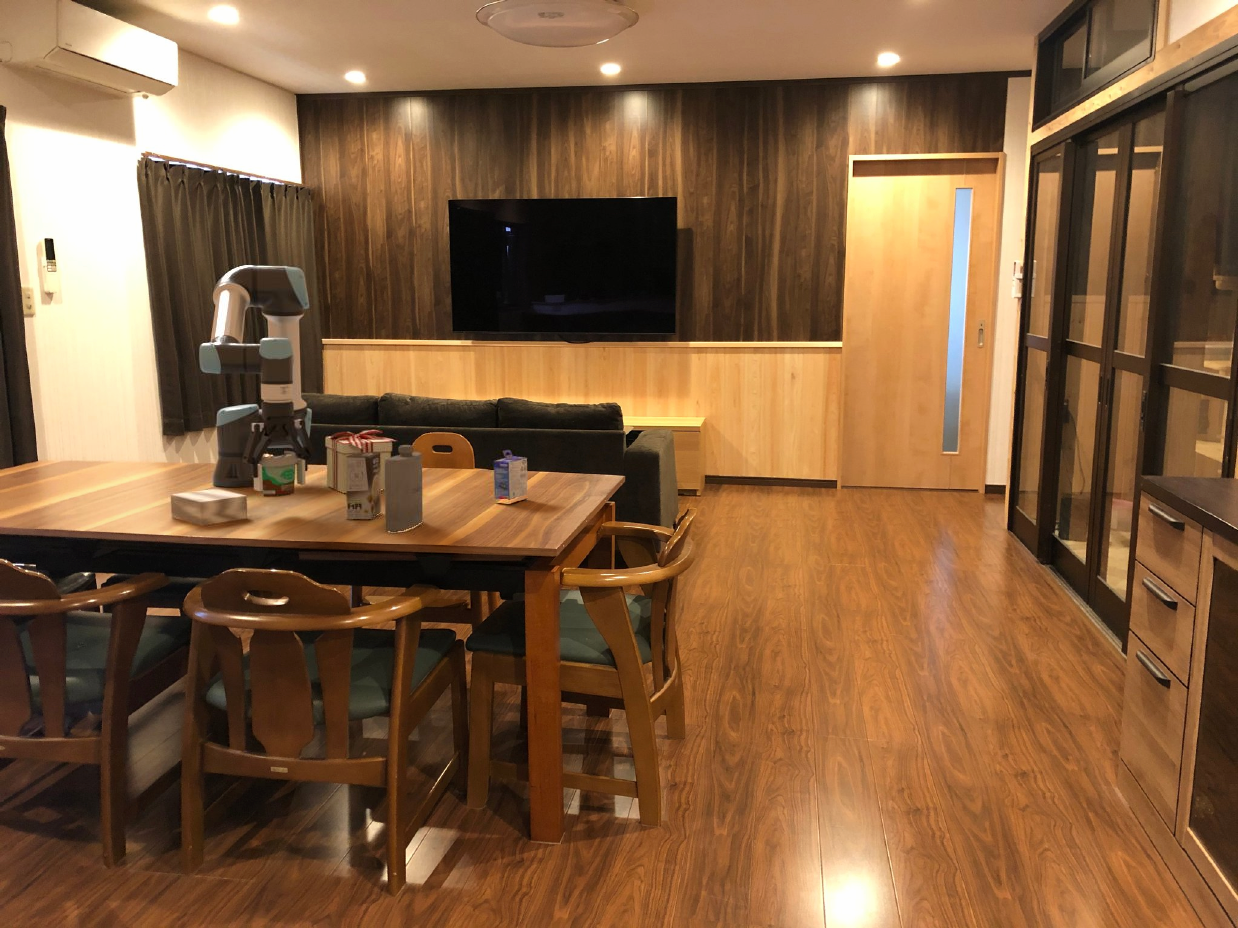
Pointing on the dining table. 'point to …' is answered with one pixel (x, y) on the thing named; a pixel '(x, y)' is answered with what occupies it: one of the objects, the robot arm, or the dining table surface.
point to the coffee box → (363, 485)
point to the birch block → (209, 506)
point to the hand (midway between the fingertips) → (280, 487)
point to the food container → (278, 474)
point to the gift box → (349, 445)
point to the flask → (403, 490)
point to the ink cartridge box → (510, 477)
